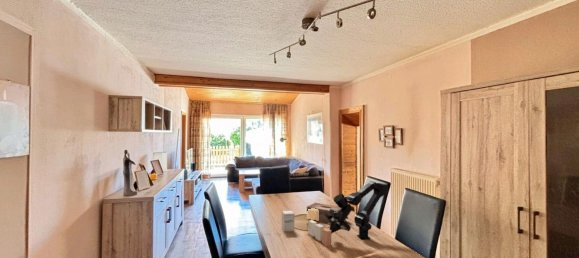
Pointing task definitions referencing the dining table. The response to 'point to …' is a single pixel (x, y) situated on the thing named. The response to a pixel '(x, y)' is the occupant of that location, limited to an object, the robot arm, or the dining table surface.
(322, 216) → the tissue box cover
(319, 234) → the middle key
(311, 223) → the far key
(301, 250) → the dining table surface
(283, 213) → the supplement box
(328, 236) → the terracotta key
